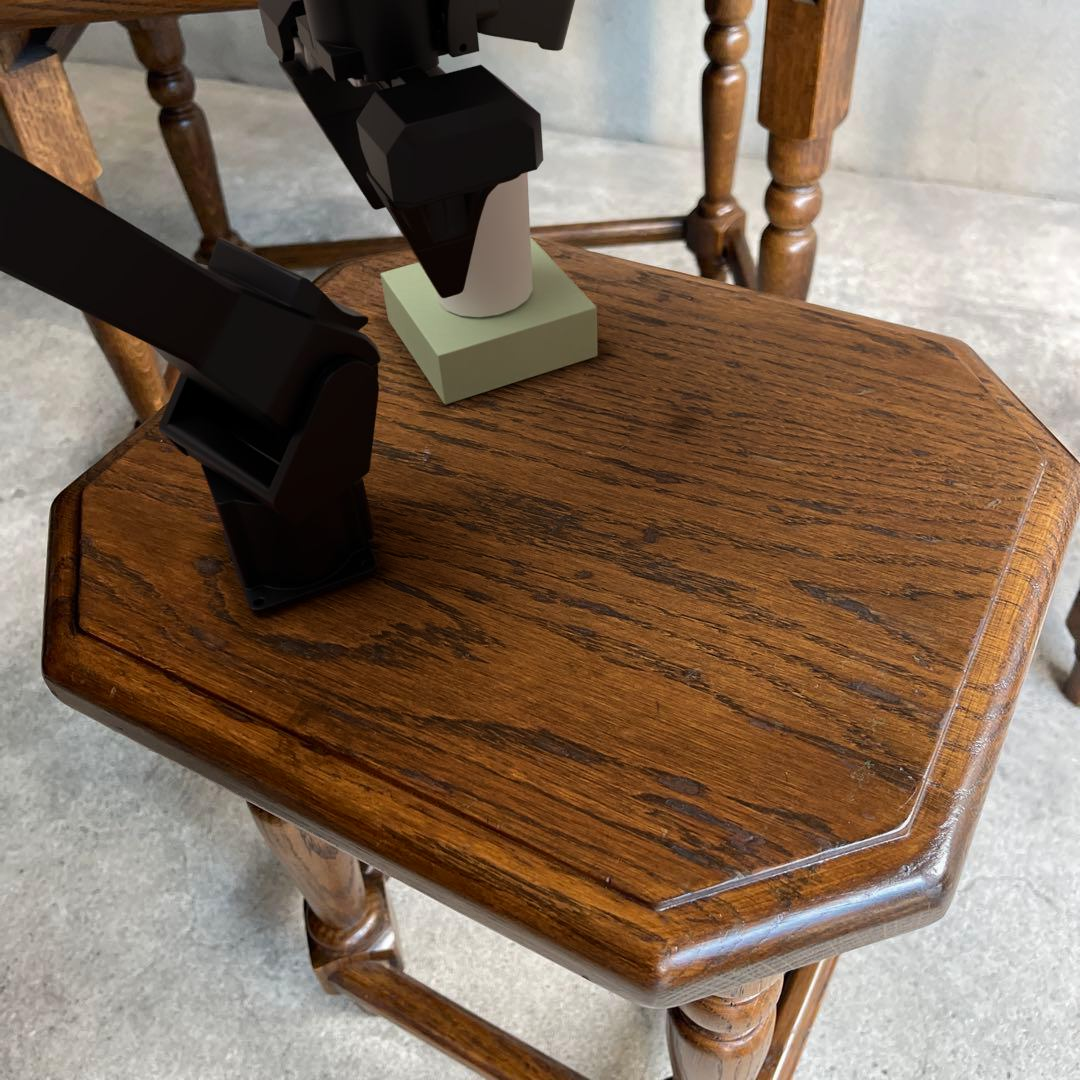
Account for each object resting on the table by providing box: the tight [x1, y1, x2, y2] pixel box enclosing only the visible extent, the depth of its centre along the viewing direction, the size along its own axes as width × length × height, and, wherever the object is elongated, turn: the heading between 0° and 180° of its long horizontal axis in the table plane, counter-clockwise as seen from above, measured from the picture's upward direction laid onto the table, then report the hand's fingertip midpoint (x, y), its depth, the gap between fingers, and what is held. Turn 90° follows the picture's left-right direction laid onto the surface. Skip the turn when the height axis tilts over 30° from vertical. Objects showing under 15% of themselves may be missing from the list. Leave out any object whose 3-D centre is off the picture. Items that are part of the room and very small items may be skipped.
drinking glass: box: [436, 172, 533, 317], centre depth 63 cm, size 7×7×10 cm
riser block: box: [380, 235, 598, 405], centre depth 68 cm, size 10×10×4 cm
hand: (415, 248), depth 53 cm, fingers open, 9 cm apart
